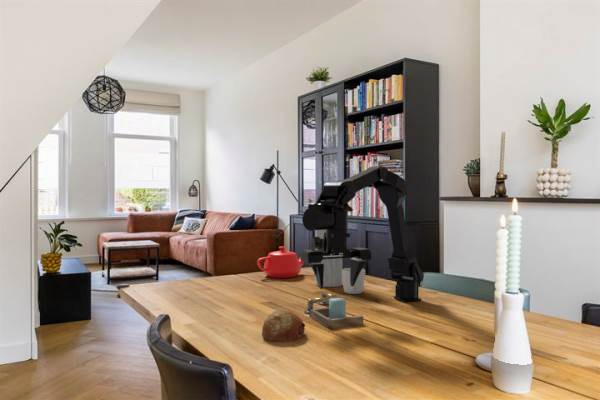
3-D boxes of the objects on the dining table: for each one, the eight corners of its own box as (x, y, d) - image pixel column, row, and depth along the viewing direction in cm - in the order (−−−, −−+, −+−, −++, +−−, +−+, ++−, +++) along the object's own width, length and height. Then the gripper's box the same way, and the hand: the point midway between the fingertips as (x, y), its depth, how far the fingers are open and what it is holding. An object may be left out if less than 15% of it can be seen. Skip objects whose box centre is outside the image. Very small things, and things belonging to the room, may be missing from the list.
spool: (341, 317, 125) (341, 297, 125) (350, 321, 120) (350, 300, 120) (324, 318, 123) (324, 298, 123) (333, 323, 118) (333, 302, 118)
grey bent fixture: (326, 301, 142) (326, 289, 142) (344, 310, 132) (344, 297, 131) (292, 305, 138) (292, 292, 138) (307, 314, 127) (307, 301, 127)
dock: (341, 313, 129) (341, 306, 129) (363, 324, 118) (363, 316, 118) (309, 316, 125) (309, 309, 125) (328, 328, 114) (328, 320, 114)
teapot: (267, 282, 175) (267, 250, 175) (248, 276, 188) (248, 246, 187) (319, 275, 189) (319, 246, 189) (298, 270, 202) (298, 243, 202)
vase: (324, 281, 176) (324, 211, 176) (347, 284, 170) (347, 211, 170) (310, 285, 168) (310, 212, 168) (333, 288, 162) (333, 212, 162)
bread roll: (269, 344, 113) (255, 315, 113) (306, 326, 114) (292, 297, 113) (270, 359, 103) (254, 327, 103) (310, 338, 104) (295, 307, 104)
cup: (364, 297, 148) (364, 273, 148) (339, 296, 149) (339, 272, 149) (365, 291, 158) (366, 268, 158) (343, 290, 160) (343, 267, 160)
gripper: (353, 226, 132) (353, 280, 132) (293, 227, 125) (293, 284, 125) (373, 228, 122) (373, 287, 122) (309, 230, 115) (308, 292, 115)
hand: (336, 287), depth 121 cm, fingers open, 9 cm apart
